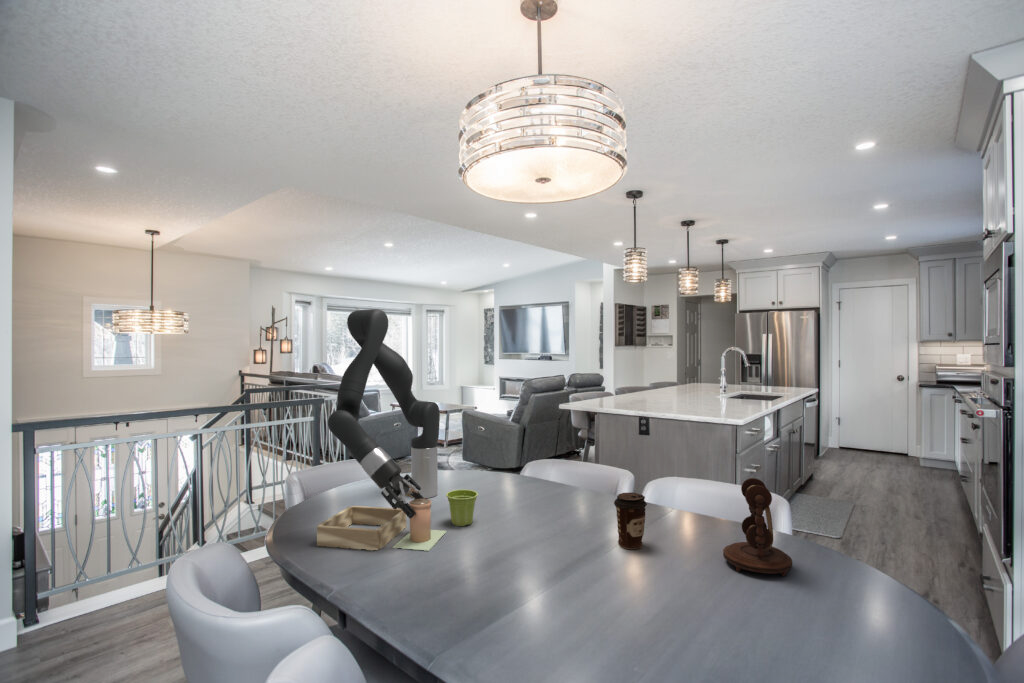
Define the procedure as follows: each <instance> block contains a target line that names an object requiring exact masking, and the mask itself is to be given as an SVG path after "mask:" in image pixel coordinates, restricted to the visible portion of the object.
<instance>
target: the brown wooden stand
mask: <svg viewBox="0 0 1024 683" xmlns="http://www.w3.org/2000/svg"><path fill="white" fill-rule="evenodd" d="M740 488H741V489H740V490H741V494H742V496H743V497H744V498H745V501H746V503H747V504H748V510H749V512H750V515H749V516H747V517H745V518H743V520H742V523H741V531H742V532H743V534H744V535H745V541H738V542H734V543H731V544H729V545H727V546H725V547H724V548H723V550H722V551H723V554H722V555H723V558H724V559H725V561H726V562H728V564H729V563H730V564H731V565H732V566H734V567H735V570H736V572H737V573H740V572H741V569H742V570H745V571H750V572H754V573H761V574H780V575H781V577H782V578H785V577H786V575H787V572H789V571H790V570H792V568H793V559H792V558H791V556H790V555H788V553H786V552H784V551H782V550H781V549H779V548H778V547H777V548H776V547H775V546H773V544H774V530H773V529H774V528H773V527H774V526H773V519H772V512H771V508H770V506H771V504H772V503H773V497H772V493H771V492H770V490H769V489H768V488H767V486H766V484H765V483H764V482H763V481H762V480H760V479H758V478H755V477H751V478H747V479H746V480H744V481H743V482H742V484H741V487H740ZM764 512H765V516H766V520H765V517H764ZM765 521H766V522H765Z"/></svg>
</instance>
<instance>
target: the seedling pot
mask: <svg viewBox="0 0 1024 683" xmlns="http://www.w3.org/2000/svg"><path fill="white" fill-rule="evenodd" d="M414 499H415V498H414ZM414 499H411V500H410V501H409V502H408V504H409V505H410V506H411V507H412V508H413V509H414V510H415V512H416V514H415V515H414V516H413V517H412V518H411V519H410V518H409V532H410V541H412V542H415V543H422V542H426V541H429V540H430V539H431V530H432V523H431V522H432V518H431V517H432V516H431V515H432V514H431V512H432V510H431V508H432V500H431V499H430V498H424V499H415V500H414Z"/></svg>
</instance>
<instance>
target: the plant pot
mask: <svg viewBox="0 0 1024 683" xmlns="http://www.w3.org/2000/svg"><path fill="white" fill-rule="evenodd" d="M478 494H479V493H478V492H477V491H475V490H472V489H455V490H451V491H448V492H447V493H446V497H447V501H448V506H449V511H450V519H451V524H453V525H454V526H456V527H465V526H467V525H471V524H472V523H473V518H474V510H475V506H476V505H475V504H476V501H477V497H478Z"/></svg>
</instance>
